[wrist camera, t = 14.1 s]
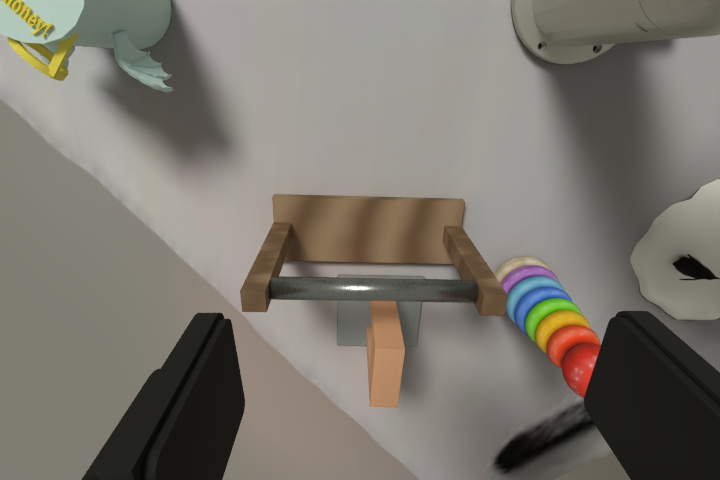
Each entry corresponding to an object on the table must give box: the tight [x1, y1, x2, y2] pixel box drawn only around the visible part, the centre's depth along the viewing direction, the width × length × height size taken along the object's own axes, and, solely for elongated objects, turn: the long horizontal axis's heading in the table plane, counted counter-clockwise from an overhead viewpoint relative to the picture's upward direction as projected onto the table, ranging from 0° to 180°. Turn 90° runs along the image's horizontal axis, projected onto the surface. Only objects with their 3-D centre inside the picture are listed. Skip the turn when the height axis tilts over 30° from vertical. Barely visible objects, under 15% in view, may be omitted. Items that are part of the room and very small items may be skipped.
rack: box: [240, 194, 508, 316], centre depth 39 cm, size 22×8×16 cm, turn 88°
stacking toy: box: [494, 257, 601, 398], centre depth 42 cm, size 8×8×19 cm
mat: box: [337, 275, 424, 346], centre depth 52 cm, size 11×11×1 cm
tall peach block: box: [366, 301, 405, 407], centre depth 46 cm, size 3×8×12 cm, turn 177°
